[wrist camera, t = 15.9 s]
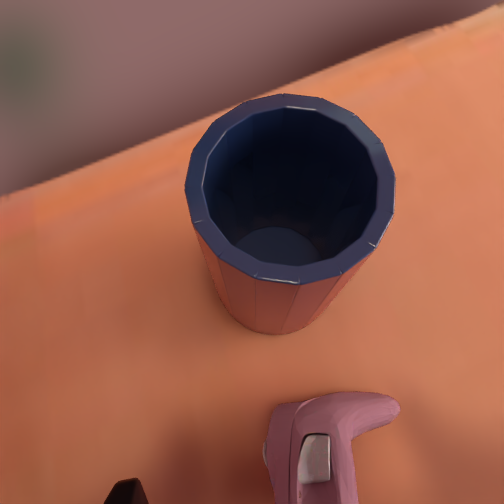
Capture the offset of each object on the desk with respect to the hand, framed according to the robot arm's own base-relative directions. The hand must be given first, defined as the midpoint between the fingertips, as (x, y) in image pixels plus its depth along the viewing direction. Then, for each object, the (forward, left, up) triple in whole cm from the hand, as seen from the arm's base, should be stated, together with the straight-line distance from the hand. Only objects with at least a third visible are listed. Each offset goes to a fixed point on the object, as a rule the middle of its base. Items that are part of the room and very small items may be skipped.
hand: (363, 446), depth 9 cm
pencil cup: (+6, +2, -11) cm, 13 cm away
